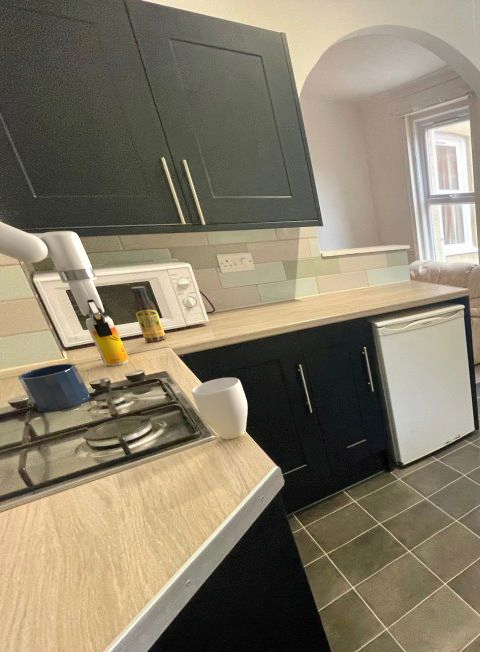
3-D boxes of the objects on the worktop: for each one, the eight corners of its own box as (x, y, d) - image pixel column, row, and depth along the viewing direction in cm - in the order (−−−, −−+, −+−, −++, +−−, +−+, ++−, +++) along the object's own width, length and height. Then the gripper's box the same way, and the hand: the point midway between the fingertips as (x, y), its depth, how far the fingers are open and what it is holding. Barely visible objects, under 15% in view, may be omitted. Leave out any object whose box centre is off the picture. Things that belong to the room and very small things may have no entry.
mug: (261, 433, 88) (245, 383, 84) (216, 449, 83) (196, 397, 78) (244, 415, 96) (228, 370, 92) (202, 429, 91) (183, 381, 86)
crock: (37, 416, 101) (18, 382, 97) (36, 405, 107) (18, 372, 103) (93, 401, 108) (76, 369, 104) (88, 391, 114) (73, 360, 110)
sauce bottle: (146, 344, 154) (123, 289, 146) (145, 340, 158) (124, 287, 150) (168, 340, 158) (147, 286, 150) (167, 336, 162) (147, 284, 154)
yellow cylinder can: (133, 361, 136) (113, 316, 130) (109, 368, 131) (88, 321, 125) (125, 359, 139) (105, 314, 133) (102, 365, 134) (80, 319, 128)
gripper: (58, 275, 126) (85, 332, 134) (62, 280, 116) (91, 342, 123) (91, 271, 131) (116, 327, 139) (98, 276, 121) (124, 335, 128)
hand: (104, 333), depth 131 cm, fingers closed on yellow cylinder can, 6 cm apart
